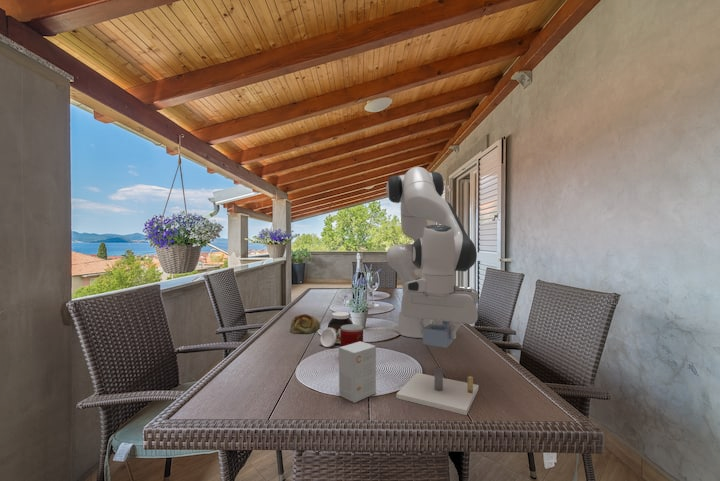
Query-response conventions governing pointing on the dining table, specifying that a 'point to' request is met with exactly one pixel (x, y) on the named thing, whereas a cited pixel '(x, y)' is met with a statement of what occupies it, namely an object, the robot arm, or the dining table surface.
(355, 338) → the canned food
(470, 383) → the dowel
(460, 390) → the post board
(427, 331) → the grey socket with handle
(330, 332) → the spread jar
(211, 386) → the dining table surface
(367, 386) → the small box
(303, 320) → the pastry
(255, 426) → the dining table surface
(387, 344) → the dining table surface
